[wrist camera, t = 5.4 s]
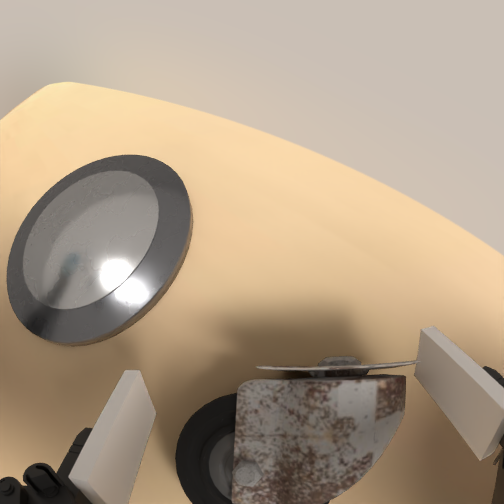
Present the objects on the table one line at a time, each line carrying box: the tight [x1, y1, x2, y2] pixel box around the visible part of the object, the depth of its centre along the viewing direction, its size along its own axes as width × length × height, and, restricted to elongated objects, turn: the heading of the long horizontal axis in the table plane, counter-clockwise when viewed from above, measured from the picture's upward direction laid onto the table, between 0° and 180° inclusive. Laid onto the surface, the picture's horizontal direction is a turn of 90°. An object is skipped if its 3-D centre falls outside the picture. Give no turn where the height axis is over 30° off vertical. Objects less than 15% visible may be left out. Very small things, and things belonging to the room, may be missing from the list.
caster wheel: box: [175, 356, 421, 504], centre depth 12 cm, size 7×11×10 cm
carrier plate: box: [7, 155, 193, 346], centre depth 23 cm, size 19×19×1 cm
